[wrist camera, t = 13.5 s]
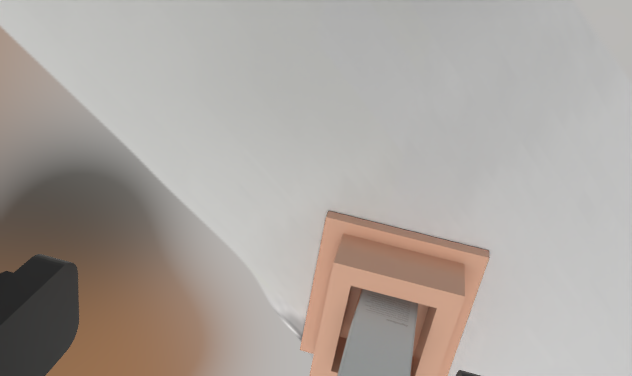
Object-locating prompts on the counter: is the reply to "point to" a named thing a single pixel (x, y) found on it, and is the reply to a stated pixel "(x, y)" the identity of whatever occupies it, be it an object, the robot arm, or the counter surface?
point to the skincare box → (380, 337)
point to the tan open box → (390, 289)
